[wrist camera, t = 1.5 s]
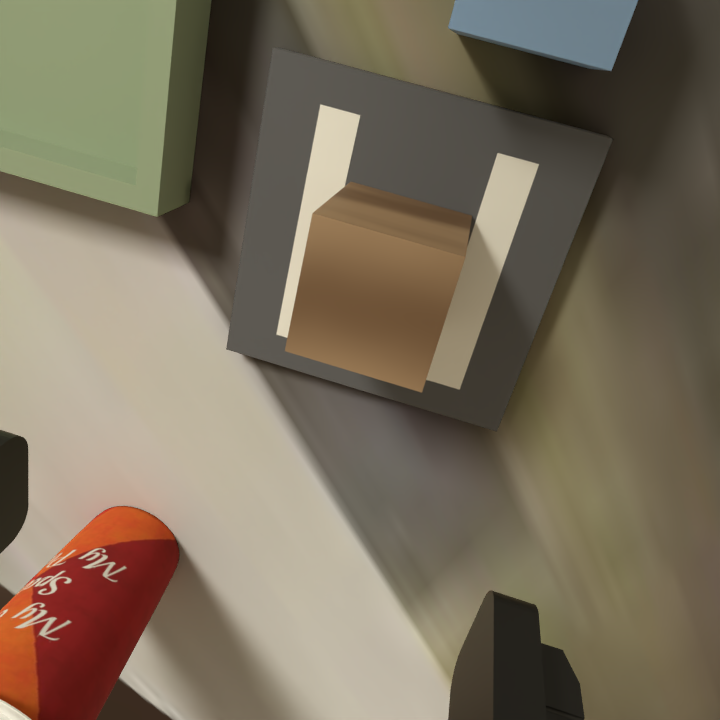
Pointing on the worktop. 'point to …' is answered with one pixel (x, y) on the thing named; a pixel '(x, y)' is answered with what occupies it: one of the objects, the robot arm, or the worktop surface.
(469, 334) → the letter mat
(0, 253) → the worktop surface
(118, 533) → the paper cup
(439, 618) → the worktop surface
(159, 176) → the tray
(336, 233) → the walnut block
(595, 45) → the slate cube
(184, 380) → the worktop surface
